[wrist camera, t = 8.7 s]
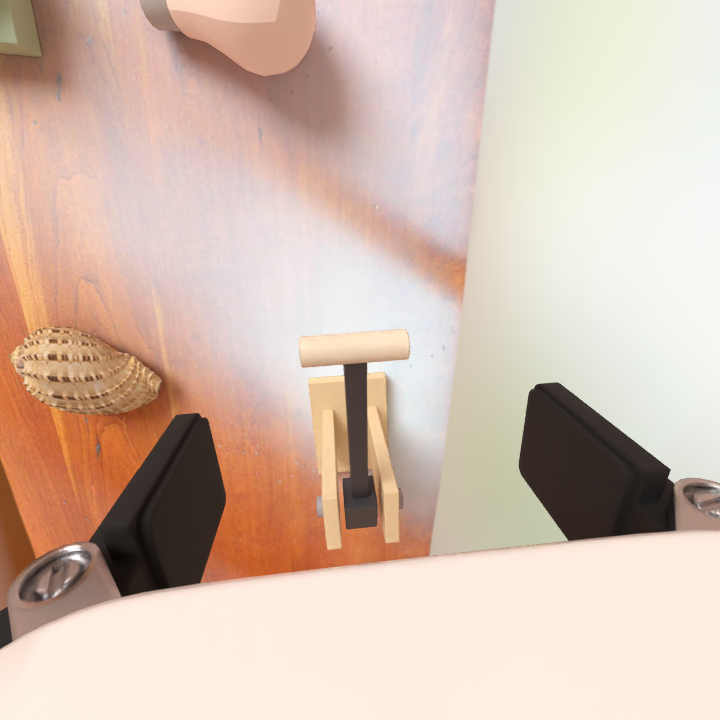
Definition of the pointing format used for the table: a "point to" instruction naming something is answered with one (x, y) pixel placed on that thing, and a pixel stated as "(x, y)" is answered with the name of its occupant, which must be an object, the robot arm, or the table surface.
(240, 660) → the robot arm
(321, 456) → the bracket
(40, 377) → the seashell
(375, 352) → the lever
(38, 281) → the table surface
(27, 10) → the control block
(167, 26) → the light bulb
